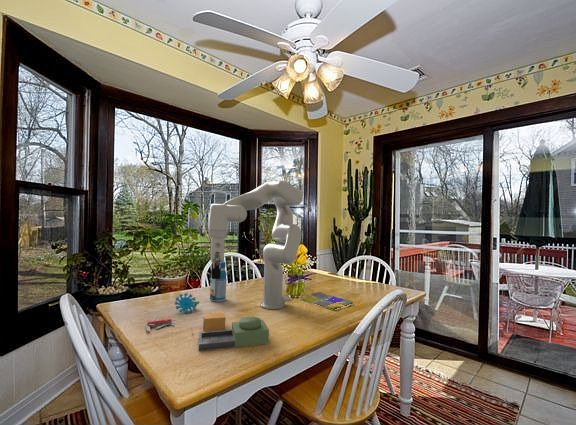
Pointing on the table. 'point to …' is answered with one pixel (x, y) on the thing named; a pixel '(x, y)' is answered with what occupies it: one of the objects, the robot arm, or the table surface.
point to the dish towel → (319, 296)
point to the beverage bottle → (218, 285)
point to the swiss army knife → (159, 323)
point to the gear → (186, 303)
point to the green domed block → (250, 332)
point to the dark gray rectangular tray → (216, 340)
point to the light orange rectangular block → (214, 321)
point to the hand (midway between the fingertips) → (215, 276)
